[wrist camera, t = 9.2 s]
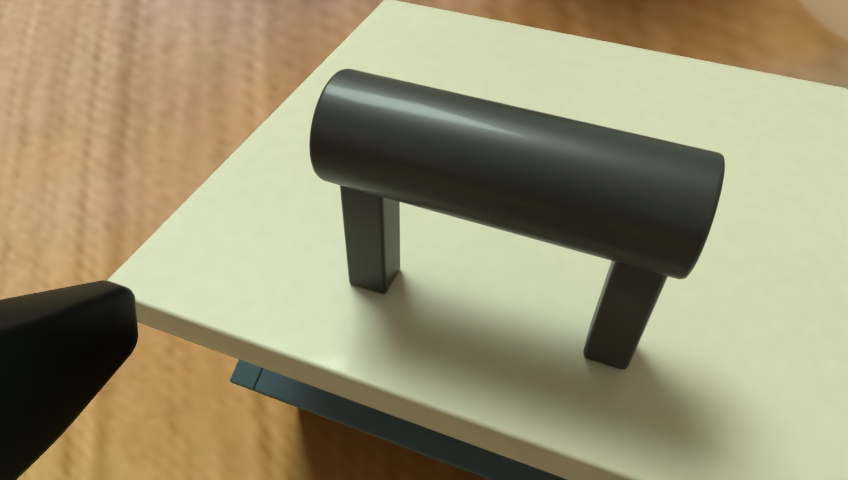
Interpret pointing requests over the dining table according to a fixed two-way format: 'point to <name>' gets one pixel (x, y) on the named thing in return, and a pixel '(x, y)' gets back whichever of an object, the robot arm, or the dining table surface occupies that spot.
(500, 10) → the dining table surface
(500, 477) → the drawer
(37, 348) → the robot arm
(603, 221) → the washer lid
